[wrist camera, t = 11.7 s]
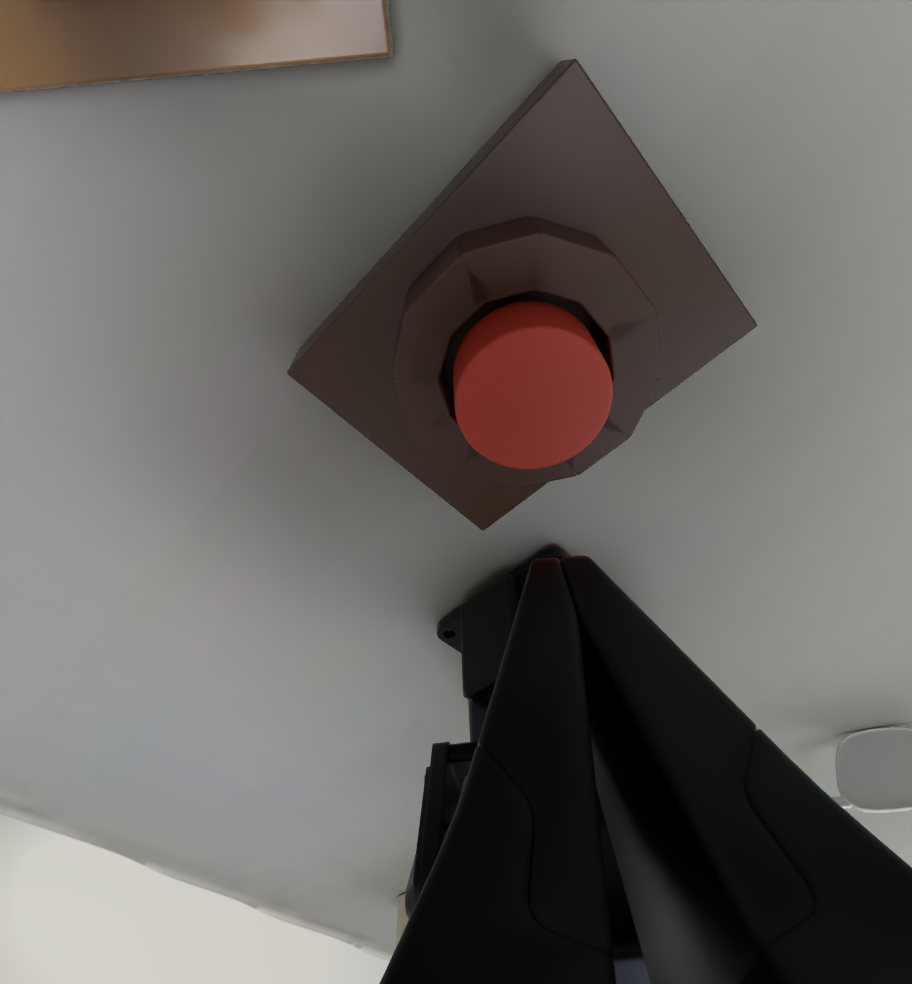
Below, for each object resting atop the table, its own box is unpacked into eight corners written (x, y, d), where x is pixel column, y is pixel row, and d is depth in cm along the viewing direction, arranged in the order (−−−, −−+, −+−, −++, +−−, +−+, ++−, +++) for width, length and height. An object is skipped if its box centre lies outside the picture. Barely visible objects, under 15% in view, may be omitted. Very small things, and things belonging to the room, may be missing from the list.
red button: (625, 372, 15) (645, 404, 13) (517, 458, 16) (524, 495, 15) (534, 266, 13) (545, 290, 12) (423, 371, 15) (421, 403, 13)
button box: (732, 305, 17) (791, 352, 14) (480, 501, 21) (486, 568, 18) (561, 59, 13) (594, 55, 11) (298, 349, 17) (270, 403, 15)
